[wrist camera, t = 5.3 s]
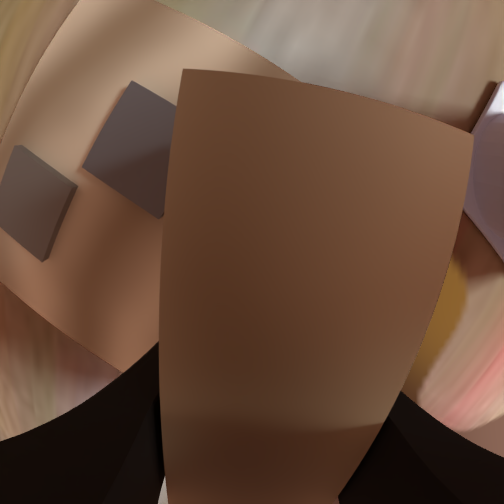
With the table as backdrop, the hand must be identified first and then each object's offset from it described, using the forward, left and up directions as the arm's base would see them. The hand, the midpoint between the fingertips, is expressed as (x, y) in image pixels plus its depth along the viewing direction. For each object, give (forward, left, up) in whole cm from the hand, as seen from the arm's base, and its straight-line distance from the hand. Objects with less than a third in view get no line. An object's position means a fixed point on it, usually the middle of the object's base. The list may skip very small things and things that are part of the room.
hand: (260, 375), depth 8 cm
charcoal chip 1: (+11, +2, -6) cm, 13 cm away
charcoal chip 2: (+7, -3, -6) cm, 9 cm away
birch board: (+5, 0, -7) cm, 9 cm away
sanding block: (0, -1, -3) cm, 3 cm away
